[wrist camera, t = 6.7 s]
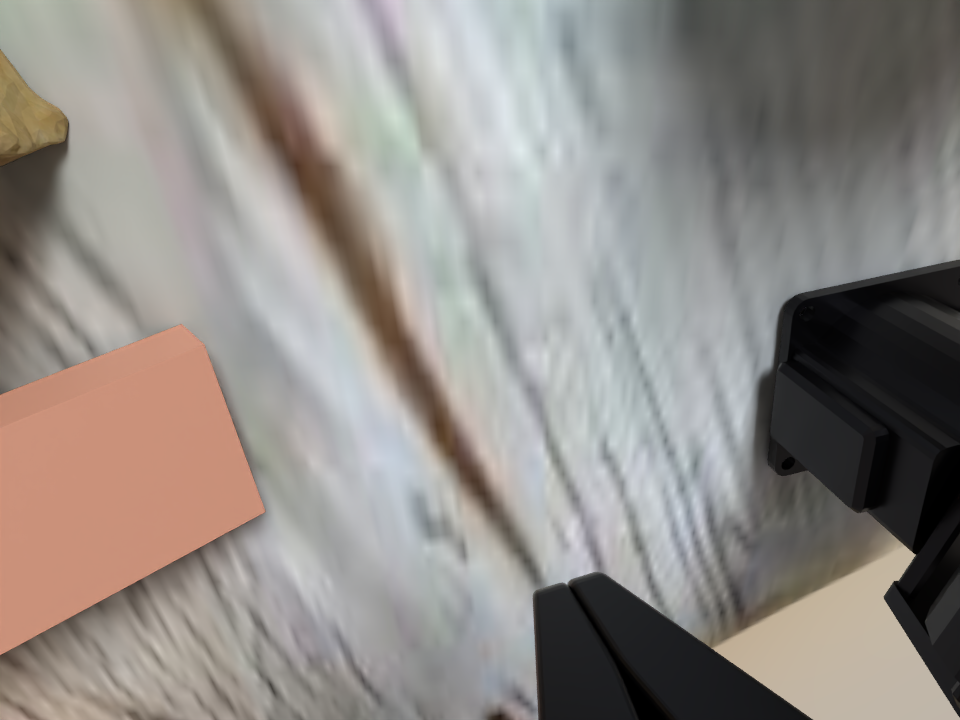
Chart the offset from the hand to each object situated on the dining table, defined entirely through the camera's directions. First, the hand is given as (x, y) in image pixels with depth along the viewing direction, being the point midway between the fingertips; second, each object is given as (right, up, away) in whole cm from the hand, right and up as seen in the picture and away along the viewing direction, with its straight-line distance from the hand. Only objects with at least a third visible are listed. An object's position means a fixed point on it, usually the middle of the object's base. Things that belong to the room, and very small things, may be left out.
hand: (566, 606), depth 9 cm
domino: (-7, +1, +10) cm, 13 cm away
